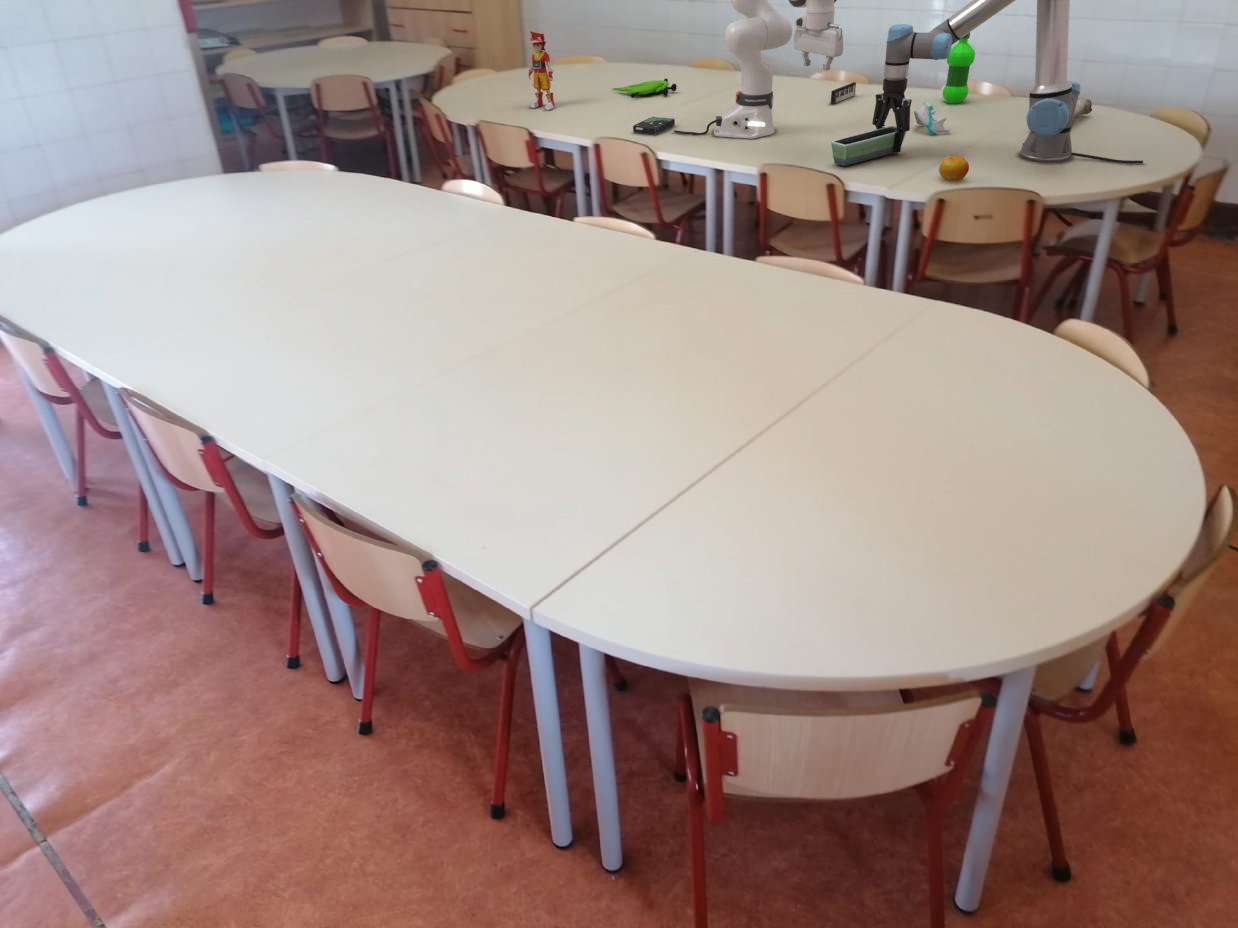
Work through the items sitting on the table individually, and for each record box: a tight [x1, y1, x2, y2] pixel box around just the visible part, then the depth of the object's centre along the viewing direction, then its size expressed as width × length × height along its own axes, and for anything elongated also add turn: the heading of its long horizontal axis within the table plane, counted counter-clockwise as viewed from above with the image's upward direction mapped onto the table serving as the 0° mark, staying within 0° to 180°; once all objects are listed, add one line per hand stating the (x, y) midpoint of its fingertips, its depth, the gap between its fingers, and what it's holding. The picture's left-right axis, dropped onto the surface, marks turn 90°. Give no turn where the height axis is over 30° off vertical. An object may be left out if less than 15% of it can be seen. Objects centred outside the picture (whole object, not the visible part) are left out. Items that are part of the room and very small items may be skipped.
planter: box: [830, 125, 907, 167], centre depth 297 cm, size 28×7×7 cm, turn 121°
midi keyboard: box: [830, 81, 857, 105], centre depth 365 cm, size 18×1×5 cm, turn 138°
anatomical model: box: [913, 101, 951, 135], centre depth 322 cm, size 15×10×10 cm
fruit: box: [938, 154, 970, 182], centre depth 276 cm, size 8×8×8 cm
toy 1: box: [527, 31, 556, 111], centre depth 374 cm, size 12×9×30 cm
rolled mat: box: [1073, 97, 1093, 121], centre depth 320 cm, size 30×9×10 cm
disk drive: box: [632, 116, 676, 136], centre depth 344 cm, size 10×3×15 cm
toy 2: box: [612, 78, 677, 99], centre depth 396 cm, size 28×5×30 cm
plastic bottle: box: [942, 32, 976, 104], centre depth 348 cm, size 10×10×25 cm
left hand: (816, 68), depth 294 cm, fingers open, 8 cm apart
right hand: (888, 150), depth 303 cm, fingers closed on planter, 7 cm apart
